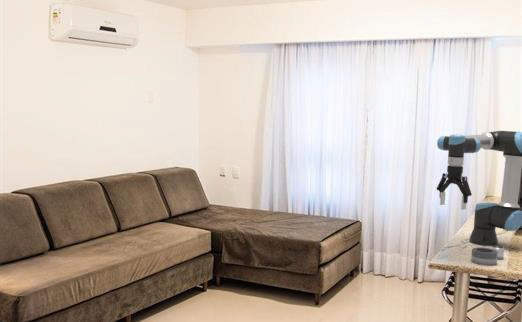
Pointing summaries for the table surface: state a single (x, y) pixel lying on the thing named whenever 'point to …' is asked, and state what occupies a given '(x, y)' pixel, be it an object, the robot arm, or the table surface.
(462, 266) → the table surface
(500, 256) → the cap
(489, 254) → the grey short cylinder
